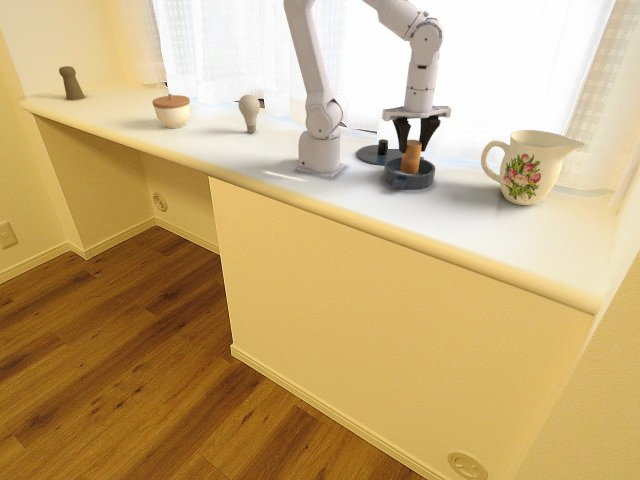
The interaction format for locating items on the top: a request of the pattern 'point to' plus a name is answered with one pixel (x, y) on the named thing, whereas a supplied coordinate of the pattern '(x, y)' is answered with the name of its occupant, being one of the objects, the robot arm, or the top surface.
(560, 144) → the pitcher
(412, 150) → the peg
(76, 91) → the grey-brown tapered knobbed cylinder
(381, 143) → the lid
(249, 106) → the lightbulb
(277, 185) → the top surface
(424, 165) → the pot
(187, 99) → the trinket box
